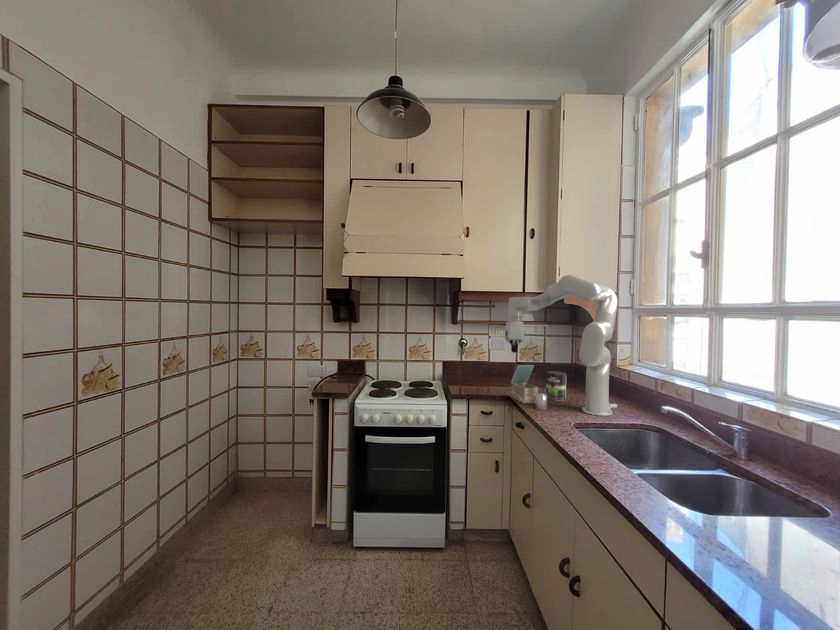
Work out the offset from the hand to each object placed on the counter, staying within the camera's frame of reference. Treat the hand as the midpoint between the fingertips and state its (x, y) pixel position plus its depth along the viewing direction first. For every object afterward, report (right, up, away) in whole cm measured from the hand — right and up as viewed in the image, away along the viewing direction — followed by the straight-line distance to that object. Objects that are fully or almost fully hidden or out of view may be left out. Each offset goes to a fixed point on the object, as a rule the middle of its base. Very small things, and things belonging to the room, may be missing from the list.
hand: (514, 352), depth 191 cm
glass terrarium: (+22, -25, -4) cm, 33 cm away
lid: (+2, -11, -8) cm, 14 cm away
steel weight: (+6, -25, -26) cm, 36 cm away
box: (+3, -24, -11) cm, 27 cm away
